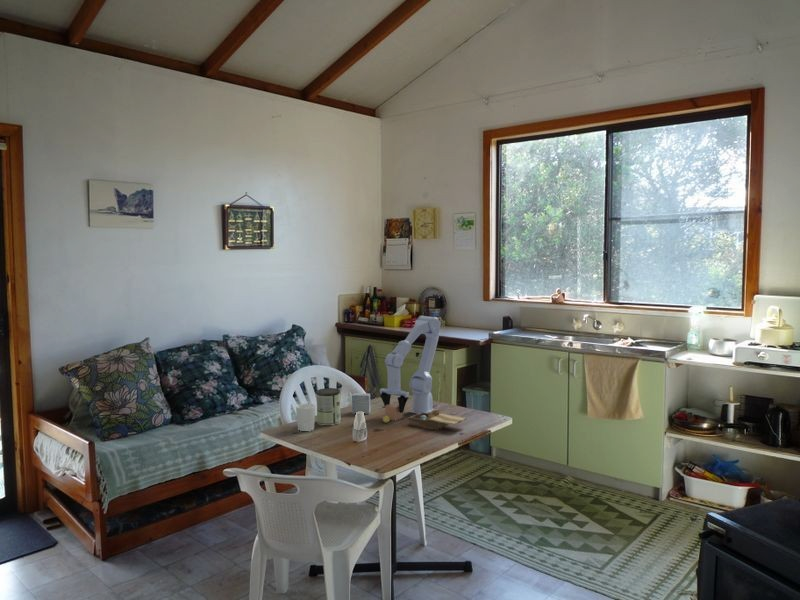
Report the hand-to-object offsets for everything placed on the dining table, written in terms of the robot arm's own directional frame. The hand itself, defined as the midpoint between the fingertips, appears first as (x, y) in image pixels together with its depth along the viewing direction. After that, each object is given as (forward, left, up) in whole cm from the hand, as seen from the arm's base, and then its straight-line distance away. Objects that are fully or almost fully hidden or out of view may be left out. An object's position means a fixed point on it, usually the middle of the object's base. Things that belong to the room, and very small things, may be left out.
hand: (394, 411), depth 273 cm
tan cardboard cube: (0, 0, -3) cm, 3 cm away
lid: (0, +27, 0) cm, 27 cm away
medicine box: (+1, -18, -3) cm, 18 cm away
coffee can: (+21, -20, -3) cm, 29 cm away
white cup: (+34, -21, -3) cm, 40 cm away
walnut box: (0, +18, -3) cm, 18 cm away
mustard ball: (+8, +1, -3) cm, 8 cm away
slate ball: (-2, +14, -3) cm, 14 cm away
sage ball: (+2, +17, -3) cm, 18 cm away
